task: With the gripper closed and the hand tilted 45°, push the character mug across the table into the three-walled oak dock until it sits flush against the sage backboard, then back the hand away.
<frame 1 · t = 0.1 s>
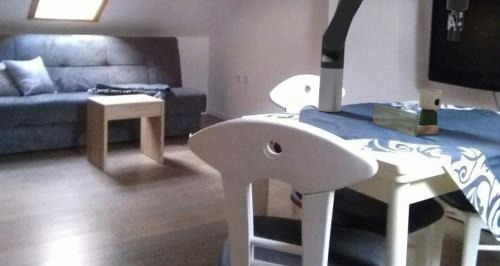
hand: (453, 40, 185), 29 cm above the table, tool pointing down, fingers open, 8 cm apart
character mug: (427, 128, 167), on the table
oak dock: (407, 128, 164), on the table
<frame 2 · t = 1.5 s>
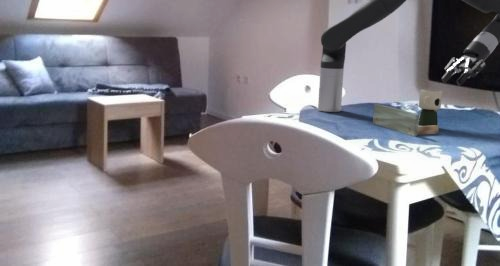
hand: (450, 82, 167), 15 cm above the table, tool tilted 45°, fingers open, 6 cm apart
nothing on the table moved.
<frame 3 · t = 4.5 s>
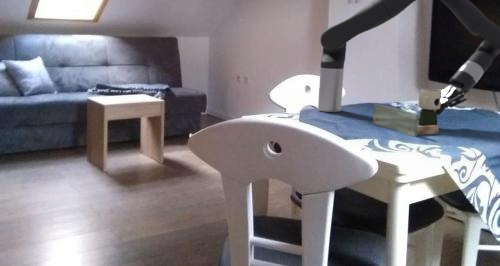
hand: (435, 113, 168), 5 cm above the table, tool tilted 45°, fingers closed
character mug: (427, 127, 167), on the table, touching gripper
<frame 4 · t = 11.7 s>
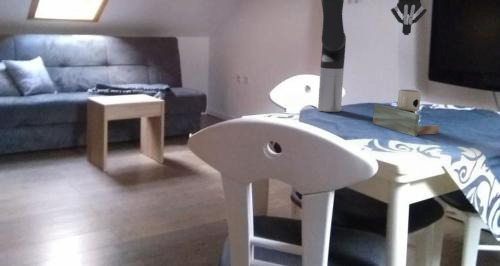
hand: (406, 34, 178), 31 cm above the table, tool pointing down, fingers closed
character mug: (406, 129, 164), on the table
at the end: character mug 0.8 cm from the oak dock (horizontally); character mug tilted 0° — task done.
